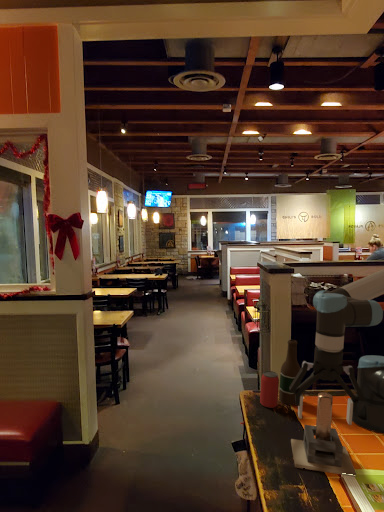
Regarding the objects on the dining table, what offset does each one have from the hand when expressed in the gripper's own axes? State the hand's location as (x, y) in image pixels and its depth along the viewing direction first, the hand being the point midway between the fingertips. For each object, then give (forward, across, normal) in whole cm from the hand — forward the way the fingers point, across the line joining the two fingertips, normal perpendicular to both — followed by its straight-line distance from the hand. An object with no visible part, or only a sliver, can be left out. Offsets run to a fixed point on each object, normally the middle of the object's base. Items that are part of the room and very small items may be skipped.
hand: (324, 419), depth 101 cm
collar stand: (+12, 0, 0) cm, 12 cm away
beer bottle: (+12, +6, -34) cm, 37 cm away
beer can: (+12, +14, -29) cm, 34 cm away
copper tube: (+11, 0, 0) cm, 11 cm away
